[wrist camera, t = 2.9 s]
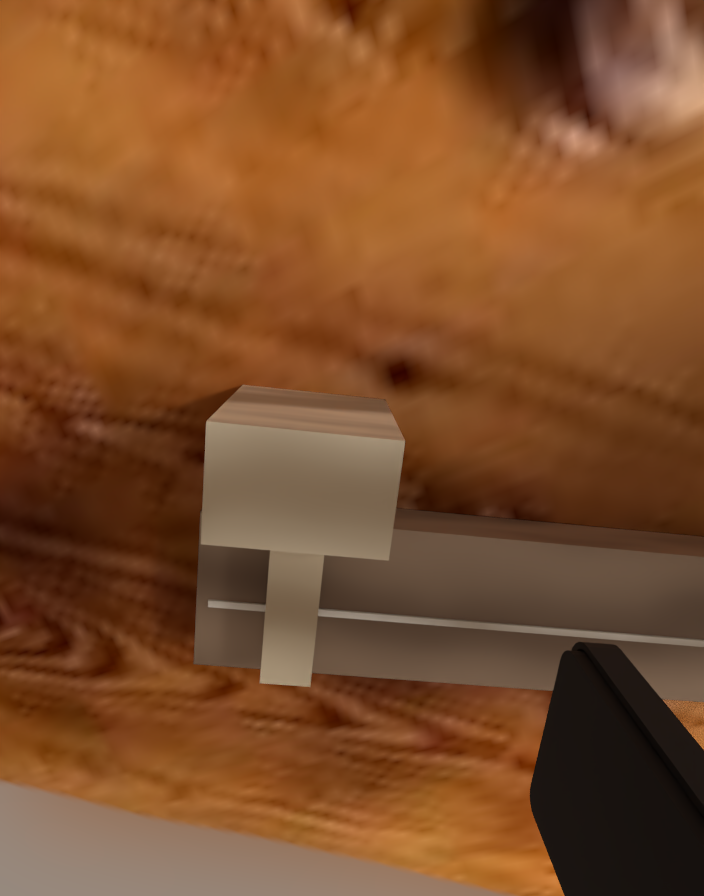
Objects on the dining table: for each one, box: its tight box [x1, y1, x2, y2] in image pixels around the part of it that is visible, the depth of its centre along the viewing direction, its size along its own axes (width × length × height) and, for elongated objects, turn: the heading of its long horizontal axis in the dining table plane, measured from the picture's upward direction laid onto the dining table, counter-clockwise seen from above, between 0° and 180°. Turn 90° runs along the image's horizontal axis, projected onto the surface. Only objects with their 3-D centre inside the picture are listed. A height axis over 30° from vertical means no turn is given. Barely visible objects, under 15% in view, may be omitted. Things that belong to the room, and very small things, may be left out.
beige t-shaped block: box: [201, 385, 405, 687], centre depth 22 cm, size 11×6×7 cm, turn 174°
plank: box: [194, 508, 704, 702], centre depth 25 cm, size 7×24×2 cm, turn 84°
